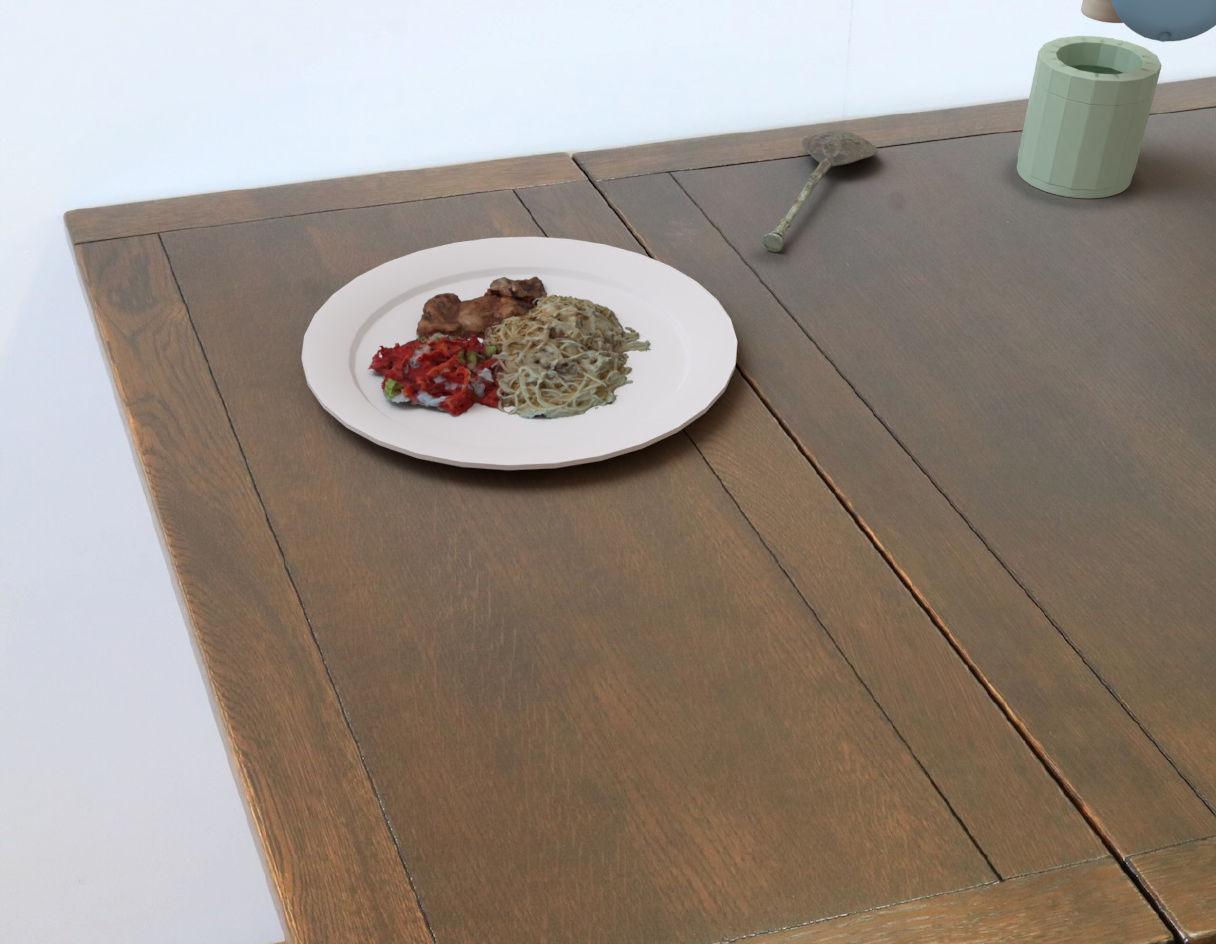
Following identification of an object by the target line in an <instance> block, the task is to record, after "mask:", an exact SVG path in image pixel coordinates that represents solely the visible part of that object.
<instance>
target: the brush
mask: <svg viewBox="0 0 1216 944" xmlns="http://www.w3.org/2000/svg"><path fill="white" fill-rule="evenodd" d="M1080 12H1081V14H1082V15H1083V16H1085V17H1087V18H1089V19H1091V20H1094V21H1097V22H1101V23H1107V24H1109V23H1110V24H1124V23H1123V22H1122V21H1121V19H1120V18H1119V16H1118V15H1117V13H1116V12H1115V10H1114V7H1113V5H1112V2H1111V0H1082V3H1081V7H1080Z"/></svg>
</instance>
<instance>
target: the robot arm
mask: <svg viewBox="0 0 1216 944" xmlns="http://www.w3.org/2000/svg"><path fill="white" fill-rule="evenodd" d="M1111 2H1112V5H1113V7H1114V10H1115V12H1116V13H1117V15H1118V16H1119V18H1120V19H1121V21H1122V22H1123V23H1122V24H1124V25H1125V26H1126V27H1127V28H1128V29H1130V30H1131V31H1132V32H1134V33H1136V34H1137V35H1139V36H1141V37H1143V38H1145V39H1148V40H1153V41H1157V42H1158V41H1159V42H1162V43H1165V42H1180V41H1185V40H1188V39H1192V38H1196V37H1198V36H1200V35H1202V34H1204V33H1206V32H1208V31H1210V30H1212V29H1213V28H1214V27H1216V0H1111Z"/></svg>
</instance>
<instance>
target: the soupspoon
mask: <svg viewBox="0 0 1216 944" xmlns="http://www.w3.org/2000/svg"><path fill="white" fill-rule="evenodd" d="M801 145H802V146H803V148H804V150H805V151H806V152H807V153H808V154H809V155H810V156H811V158H813V159H814V160H815V161H816V162H818V165H817V166H816V168H815V169H814V170H813V172H812V173H811V174H810V176H809V178H808V180H807V181H806V183H805V184H804V186H803V188H802V189H801V191H800V193H799V194H798V196H797V198H796V200H795V201H794V203H793V204H792V206H791V208H790V209H789V210H788V212H787V214H786V215H785V217H783V218H781V219H780V220H779V224H778V225H777V226H776V227H775V228H774V229H773V231H771V232H770V233H766V234H765V235H764V236H763V237H762V245H763V246H764V247H765V248H766V250H768V251H770V252H773V253H779V252H781V251H782V250H783V249H784V247H785V242H784V239H785V236H786V234H787V233H788V229H789V228H790V227H791V226H792V222H793V221H794V219H795V218H796V216H797V215H798V213H799V212H800V211H801V209H802V208H803V206H804V205H805V203H806V202H807V201H808V199H809V197H810V196H811V194H812V192H813V191H814V189H815V188H816V186H817V185H818V184H819V182H820V181H821V180H822V179H823V177H824V176H825V175H826V173H828V171H830V169H831V168H832V167H837V166H844V165H847V164H852V163H855V162H858V161H860V160H864V159H868V158H872V157H874V156H875V155H876V154H878V153H879V150H878V148H877V147H876V146H875V145H874V144H872V143H871V141H869V140H867V139H865V137H862V136H860V135H858V134H855V133H853V132H849V131H844V130H838V129H829V130H828V129H827V130H822V131H817V132H814V133H812V134H809V135H808V136H806V137H805V138H803V139H802V140H801Z"/></svg>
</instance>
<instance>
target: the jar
mask: <svg viewBox="0 0 1216 944" xmlns="http://www.w3.org/2000/svg"><path fill="white" fill-rule="evenodd" d="M1162 66H1163V65H1162V62H1161V60H1160V58H1159V56H1158V55H1157V54H1155V53H1153V52H1152V51H1150V50H1149V49H1147V48H1146V47H1144V46H1141V45H1139V44H1135V43H1132V42H1129V41H1127V40H1121V39H1116V38H1110V37H1105V36H1096V35H1095V36H1093V35H1091V36H1090V35H1075V36H1064V37H1059V38H1056V39H1053V40H1050V41H1048V42H1045V43H1044V44H1043V45H1042V47H1041V48H1040V49H1039V50H1038V52H1037V58H1036V63H1035V67H1034V72H1033V77H1032V83H1031V87H1030V92H1029V98H1028V103H1027V107H1026V111H1025V112H1026V113H1025V117H1024V123H1023V128H1022V133H1021V136H1020V141H1019V147H1018V153H1017V163H1016V171H1017V174H1018V175H1019V177H1020V178H1021V179H1022V180H1023V181H1024V182H1025V183H1027V184H1028V185H1030V186H1031V187H1033V188H1035V189H1038V190H1041V191H1043V192H1046V193H1048V194H1052V195H1056V196H1060V197H1066V198H1072V199H1103V198H1109V197H1112V196H1115V195H1118V194H1121V193H1122V192H1125V190H1127V189H1128V188H1129V187H1130V185H1131V183H1132V181H1133V175H1134V174H1135V172H1136V168H1137V164H1138V160H1139V157H1140V152H1141V149H1142V144H1143V140H1144V137H1145V132H1146V128H1147V124H1148V121H1149V117H1150V113H1151V109H1152V105H1153V101H1154V97H1155V93H1156V89H1157V85H1158V82H1159V77H1160V74H1161V70H1162Z"/></svg>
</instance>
